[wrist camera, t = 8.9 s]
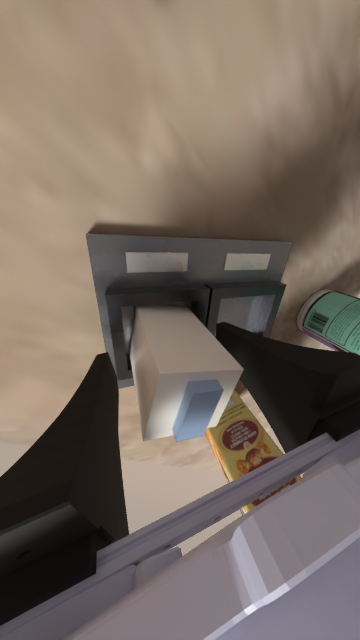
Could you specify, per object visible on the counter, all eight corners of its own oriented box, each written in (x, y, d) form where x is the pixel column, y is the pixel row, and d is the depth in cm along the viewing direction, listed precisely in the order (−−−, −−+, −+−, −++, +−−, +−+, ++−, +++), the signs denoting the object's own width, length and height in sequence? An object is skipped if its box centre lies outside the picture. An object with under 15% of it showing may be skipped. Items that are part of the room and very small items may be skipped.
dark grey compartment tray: (284, 241, 15) (306, 243, 13) (250, 354, 21) (262, 366, 19) (87, 233, 10) (83, 235, 9) (112, 382, 16) (112, 401, 14)
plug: (187, 307, 14) (252, 378, 8) (176, 349, 16) (221, 437, 9) (136, 302, 12) (163, 386, 6) (129, 350, 14) (145, 455, 8)
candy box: (182, 380, 19) (333, 707, 6) (217, 363, 19) (421, 628, 7) (198, 421, 24) (302, 653, 11) (226, 407, 24) (355, 610, 12)
